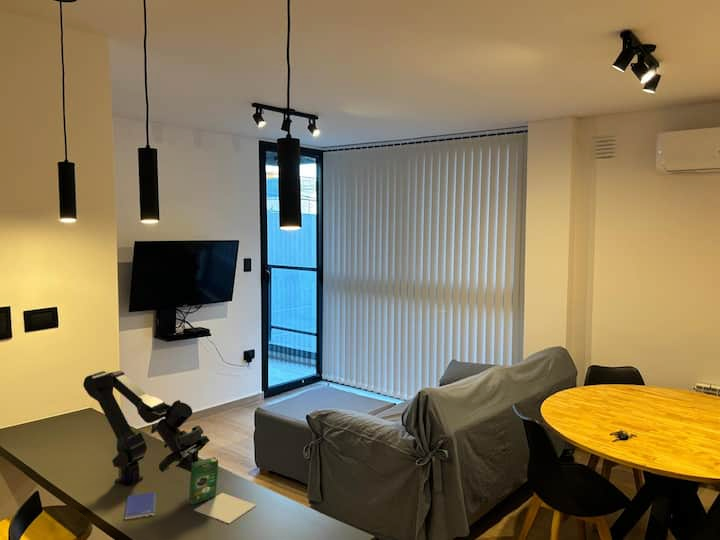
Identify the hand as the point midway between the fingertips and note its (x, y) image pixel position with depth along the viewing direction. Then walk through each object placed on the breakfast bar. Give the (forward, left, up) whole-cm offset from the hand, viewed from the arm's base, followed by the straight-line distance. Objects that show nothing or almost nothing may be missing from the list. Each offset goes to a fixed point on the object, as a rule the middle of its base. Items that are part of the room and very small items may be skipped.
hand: (200, 474), depth 174 cm
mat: (+10, 0, -8) cm, 13 cm away
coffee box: (+1, 0, -8) cm, 8 cm away
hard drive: (-12, -13, -9) cm, 20 cm away
